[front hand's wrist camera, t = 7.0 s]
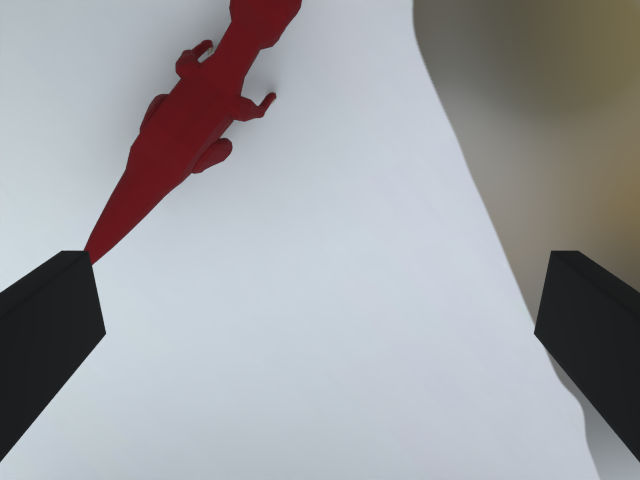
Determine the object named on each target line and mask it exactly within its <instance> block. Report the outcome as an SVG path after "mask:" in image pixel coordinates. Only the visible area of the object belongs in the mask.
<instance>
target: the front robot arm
mask: <svg viewBox="0 0 640 480" xmlns="http://www.w3.org/2000/svg"><path fill="white" fill-rule="evenodd" d="M105 335H106V331H105V326H104V321H103V316H102V312H101V307H100V302H99V297H98V292H97V288H96V283H95V278H94V273H93V268H92V264H91V259H90V254H89V251H61V252H59V253H58V254H56V255H55V256H53V257H52V258H50V259H49V260H47V261H46V262H45V263H43V264H42V265H40V266H39V267H37V268H36V269H34V270H33V271H31V272H30V273H28V274H27V275H26V276H24V277H23V278H21V279H20V280H18V281H17V282H15V283H14V284H12V285H11V286H9V287H8V288H7V289H5V290H4V291H2V292H1V293H0V462H1V461H2V460H3V458H4V457H5V456H6V455H7V453H8V452H9V451H10V450H11V449H12V447H13V446H14V445H15V444H16V443H17V441H18V440H19V439H20V438H21V436H22V435H23V434H24V433H25V432H26V430H27V429H28V428H29V427H30V426H31V424H32V423H33V422H34V421H35V419H36V418H37V417H38V416H39V415H40V413H41V412H42V411H43V410H44V409H45V407H46V406H47V405H48V404H49V402H50V401H51V400H52V399H53V398H54V396H55V395H56V394H57V393H58V392H59V390H60V389H61V388H62V387H63V385H64V384H65V383H66V382H67V381H68V379H69V378H70V377H71V376H72V375H73V373H74V372H75V371H76V370H77V369H78V367H79V366H80V365H81V364H82V362H83V361H84V360H85V359H86V358H87V356H88V355H89V354H90V353H91V352H92V350H93V349H94V348H95V347H96V345H97V344H98V343H99V342H100V341H101V339H102V338H103V337H104V336H105ZM534 335H535V336H536V337H537V338H538V339H539V341H540V342H541V343H542V344H543V345H544V347H545V348H546V349H547V350H548V351H549V353H550V354H551V355H552V356H553V358H554V359H555V360H556V361H557V362H558V364H559V365H560V366H561V367H562V368H563V370H564V371H565V372H566V373H567V375H568V376H569V377H570V378H571V379H572V381H573V382H574V383H575V384H576V385H577V387H578V388H579V389H580V390H581V392H582V393H583V394H584V395H585V396H586V398H587V399H588V400H589V401H590V402H591V404H592V405H593V406H594V407H595V408H596V410H597V411H598V412H599V413H600V415H601V416H602V417H603V418H604V419H605V421H606V422H607V423H608V424H609V426H610V427H611V428H612V429H613V430H614V432H615V433H616V434H617V435H618V436H619V438H620V439H621V440H622V441H623V442H624V444H625V445H626V446H627V447H628V449H629V450H630V451H631V452H632V453H633V455H634V456H635V457H636V458H637V460H638V461H639V462H640V293H639V292H638V291H636V290H635V289H633V288H632V287H631V286H629V285H628V284H626V283H625V282H623V281H622V280H620V279H619V278H617V277H616V276H614V275H613V274H612V273H610V272H609V271H607V270H606V269H604V268H603V267H601V266H600V265H598V264H597V263H595V262H594V261H593V260H591V259H590V258H588V257H587V256H585V255H584V254H582V253H581V252H579V251H551V254H550V259H549V264H548V268H547V273H546V278H545V283H544V288H543V292H542V297H541V302H540V307H539V312H538V316H537V321H536V326H535V331H534Z"/></svg>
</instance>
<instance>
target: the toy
mask: <svg viewBox="0 0 640 480" xmlns="http://www.w3.org/2000/svg"><path fill="white" fill-rule="evenodd" d="M301 2H302V0H230V6H229V9H230V15H231V21H232V22H231V24H230V25H229V27H228V29H227V31H226V33H225V34H224V36H223V38H222V40H221V42H220V43H219V45H218V47H217V49H216V50H215V52H214V54H212V55H211V56H210V57H208V58H207V59H206V60H204V61H203V62H202V63H199V62H198V60H197V59H198V58H199V57H200V56H201V55H202V54H204V53H205V52H206V51H207V50H208V51H209V52H208V51H207V52H208V55H209V54H210V53H211V52H212V50H213V44H212V41H211V40H204V41H202V42H201V43H200V44H199V45H197V46H196V47H195V48H193V49H192V50H185V51H183V52H182V55H181V56H180V58H179V59H178V61H177V62H176V73H177V74H178V75H179V76H180V78H181V79H180V81H179V82H178V83H177V84H176V86H175V87H174V88H173V90H172V91H171V92H170V93H169V94H160V95H158V96H156V97H155V98H154V99H153V101H152V102H151V104H150V105H149V107H148V110H147V112H146V114H145V117H144V119H143V121H142V124H141V126H140V134H139V135H138V137H137V138H136V140H135V141H134V143H133V145H132V146H131V149H130V153H129V157H128V162H127V166H126V170H125V172H124V174H123V175H122V177H121V179H120V181H119V182H118V184H117V186H116V188H115V189H114V191H113V193H112V194H111V196H110V198H109V200H108V202H107V204H106V206H105V208H104V210H103V212H102V214H101V215H100V217H99V219H98V221H97V223H96V225H95V227H94V229H93V231H92V233H91V235H90V237H89V239H88V242H87V244H86V246H85V248H84V251H89V254H90V259H91V264H92V265H93V264H94V263H95V262H97V261H98V260H99V259H100V258H101V257H102V256H104V255H105V254H106V253H107V252H108V251H109V250H111V249H112V248H113V247H114V246H115V245H116V244H117V243H118V242H119V241H120V240H121V239H123V238H124V237H125V236H126V235H127V234H128V233H129V232H130V231H131V230H132V229H133V228H134V227H135V226H136V225H137V224H138V223H139V222H140V221H141V220H142V219H143V218H144V217H145V216H146V215H147V214H148V213H149V212H150V211H151V210H152V209H153V208H154V207H155V206H156V205H157V204H158V203H159V202H160V201H161V200H162V199H163V198H164V197H165V196H166V195H167V194H168V193H169V192H170V191H172V190H173V189H174V188H175V187H177V186H178V185H179V184H180V183H182V182H183V181H184V180H185V179H186V178H187V177H188V176H189V175H190V174H191V173H194V174H196V173H201V172H203V171H204V170H205V169H207V168H209V167H211V166H213V165H215V164H218V163H220V162H222V161H224V160H225V159H226V158H227V157H228V156H229V155H230V153H231V151H232V147H233V146H232V142H231V141H230V140H228V139H227V138H220V137H221V136H222V134H223V133H224V132H225V131H226V129H227V128H228V127H229V126H230V125H231V123H232V122H233V121H234V119H235V120H239V121H244V122H245V121H248V120H251V119H254V118H261V117H263V116H264V114H265V112H266V110H267V109H268V107H269V106H270V104H272V103H273V102H274V101H275V99H276V93H269V94H268V95H267V96H266V97H265V99H264V100H263V102H262V103H261V104H260V105H259V106H256V105H255V103H254V102H253V101H252V100H250V99H248V98H245V97H242V96H241V91H242V87H243V82H244V78H245V76H246V74H247V72H248V70H249V69H250V67H251V65H252V64H253V62H254V60H255V58H256V57H257V55H258V53H259V51H260V50H261V49H265V48H269V47H273V45H274V44H275V43H276V42H277V41H278V40H279V38H280V36H281V34H282V33H283V32H284V30H285V28H286V27H287V26H288V24H289V23H290V22H291V21H292V19H293V18H294V17H295V16H296V15H297V13H298V11H299V9H300V8H301ZM219 138H220V139H219Z"/></svg>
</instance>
